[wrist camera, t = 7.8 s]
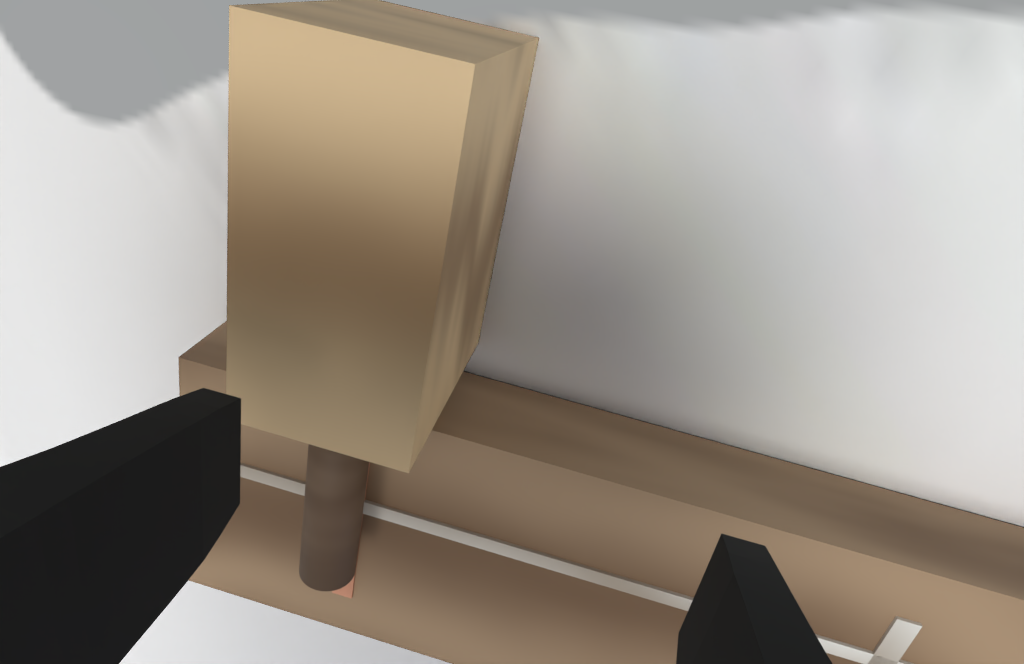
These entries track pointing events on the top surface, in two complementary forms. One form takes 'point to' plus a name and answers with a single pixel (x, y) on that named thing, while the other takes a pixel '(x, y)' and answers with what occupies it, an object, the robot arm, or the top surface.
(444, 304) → the light wood pillar
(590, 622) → the walnut plank
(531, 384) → the top surface
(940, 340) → the top surface
